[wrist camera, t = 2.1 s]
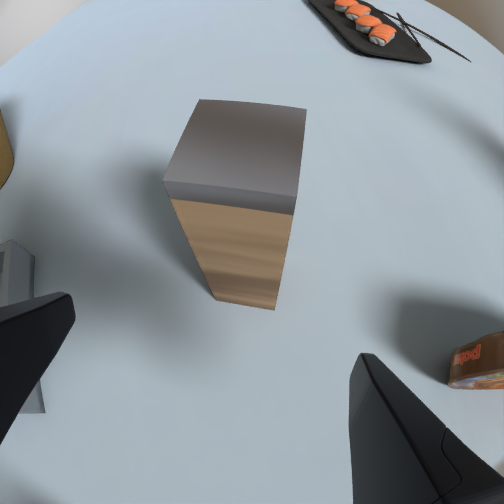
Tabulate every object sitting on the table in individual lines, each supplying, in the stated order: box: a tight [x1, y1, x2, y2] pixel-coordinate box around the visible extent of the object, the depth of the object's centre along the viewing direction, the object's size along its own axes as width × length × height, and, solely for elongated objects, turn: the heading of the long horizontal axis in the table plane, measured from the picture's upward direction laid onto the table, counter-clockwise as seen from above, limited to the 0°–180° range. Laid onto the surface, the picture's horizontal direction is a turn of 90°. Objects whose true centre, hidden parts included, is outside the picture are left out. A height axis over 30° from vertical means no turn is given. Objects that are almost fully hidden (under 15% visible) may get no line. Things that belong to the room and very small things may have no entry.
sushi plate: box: [308, 0, 471, 63], centre depth 39 cm, size 29×30×4 cm
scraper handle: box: [162, 99, 307, 310], centre depth 15 cm, size 4×4×13 cm
